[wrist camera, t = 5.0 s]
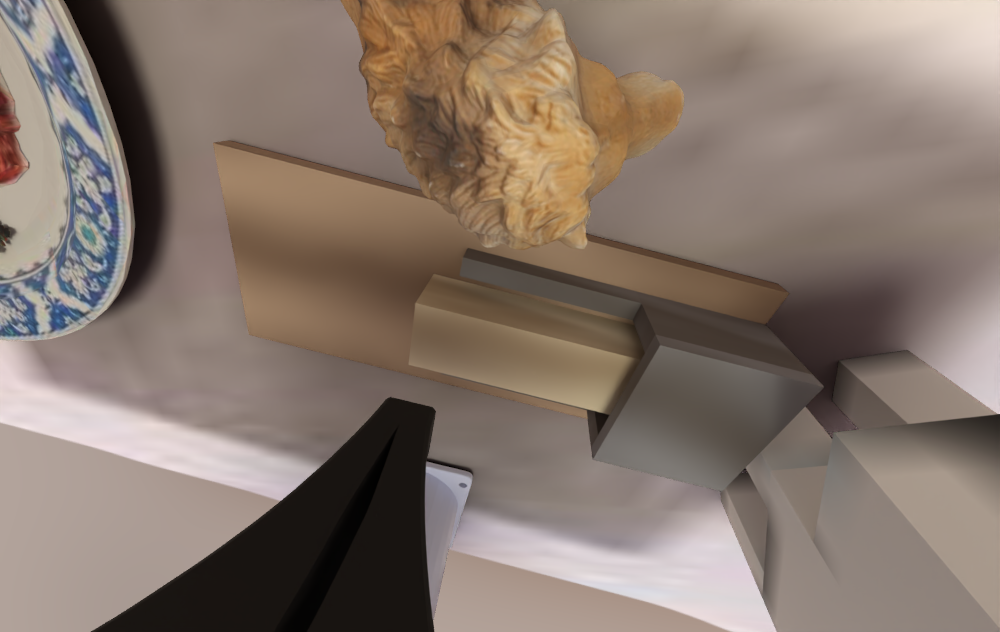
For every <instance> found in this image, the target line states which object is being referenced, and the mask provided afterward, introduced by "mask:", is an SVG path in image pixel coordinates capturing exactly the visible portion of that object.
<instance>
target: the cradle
mask: <svg viewBox="0 0 1000 632" xmlns="http://www.w3.org/2000/svg"><path fill="white" fill-rule="evenodd" d="M213 146H214V151H215V156H216V161H217V167H218V172H219V177H220V183H221V188H222V193H223V199H224V204H225V209H226V215H227V220H228V225H229V231H230V236H231V241H232V247H233V252H234V257H235V263H236V268H237V273H238V279H239V284H240V289H241V295H242V300H243V305H244V311H245V316H246V321H247V327H248V332H249V335H252V336H256V337H260V338H264V339H268V340H272V341H276V342H280V343H284V344H288V345H292V346H296V347H300V348H305V349H309V350H313V351H317V352H321V353H325V354H329V355H333V356H337V357H341V358H345V359H349V360H353V361H357V362H361V363H365V364H369V365H373V366H377V367H381V368H385V369H389V370H393V371H397V372H401V373H405V374H409V375H413V376H417V377H421V378H425V379H429V380H433V381H437V382H441V383H445V384H449V385H453V386H457V387H461V388H465V389H469V390H473V391H477V392H481V393H485V394H489V395H493V396H497V397H501V398H505V399H509V400H513V401H517V402H521V403H526V404H530V405H534V406H538V407H542V408H546V409H550V410H554V411H558V412H562V413H566V414H570V415H574V416H578V417H582V418H586V419H588V426H589V434H590V442H591V450H592V458H593V460H596V461H600V462H604V463H608V464H612V465H616V466H620V467H624V468H628V469H632V470H636V471H641V472H645V473H649V474H653V475H657V476H661V477H665V478H669V479H673V480H677V481H681V482H685V483H689V484H693V485H697V486H701V487H706V488H710V489H714V490H718V491H723V490H724V489H725V488H726V487H727V486H728V485H729V484H730V483H731V482H732V481H733V480H734V479H735V478H736V477H737V476H738V475H739V474H740V473H741V472H742V471H743V470H744V469H745V468H746V467H747V466H748V465H749V464H750V463H751V461H752V460H753V459H754V458H755V457H756V456H757V455H758V454H759V453H760V452H761V451H762V450H763V449H764V448H765V447H766V446H767V445H768V444H769V443H770V442H771V441H772V440H773V439H774V438H775V437H776V436H777V435H778V434H779V433H780V432H781V431H782V430H783V429H784V428H785V427H786V426H787V425H788V424H789V423H790V422H791V421H792V420H793V419H794V418H795V417H796V416H797V415H798V414H799V413H800V412H801V410H802V409H803V408H804V407H805V406H806V405H807V404H808V403H809V402H810V401H811V400H812V399H813V398H814V397H815V396H816V395H817V394H818V393H819V392H820V391H821V390H822V389H823V388H824V386H823V385H822V384H821V383H820V382H819V381H818V380H817V379H816V378H815V377H814V375H813V374H812V373H811V372H810V371H809V370H808V369H807V368H806V367H805V366H804V365H803V364H802V363H801V362H800V361H799V360H798V359H797V357H796V356H795V355H794V354H793V353H792V352H791V351H790V350H789V349H788V348H787V347H786V346H785V345H784V344H783V343H782V342H781V341H780V339H779V338H778V337H777V336H776V335H775V334H774V333H773V332H772V331H771V330H770V329H769V328H768V327H767V326H766V323H767V322H768V321H769V320H770V318H771V317H772V316H773V314H774V313H775V312H776V310H777V309H778V308H779V306H780V305H781V304H782V302H783V301H784V300H785V299H786V297H787V296H788V295H789V293H788V292H787V291H786V290H785V289H783V288H782V287H781V286H780V285H779V284H776V283H772V282H768V281H764V280H760V279H756V278H753V277H749V276H745V275H741V274H737V273H734V272H730V271H726V270H722V269H718V268H714V267H711V266H707V265H703V264H699V263H695V262H691V261H688V260H684V259H680V258H676V257H672V256H669V255H665V254H661V253H657V252H653V251H649V250H646V249H642V248H638V247H634V246H630V245H626V244H623V243H619V242H615V241H611V240H607V239H604V238H600V237H596V236H592V235H588V234H586V237H587V245H586V247H585V248H584V249H572V248H570V247H568V246H566V245H565V244H563V243H562V242H561V241H558V240H556V241H554V242H551V243H549V244H546V245H543V246H542V247H539V248H535V247H531V248H528V249H525V250H517V249H512V248H510V247H508V246H507V245H505V244H499V245H498V246H496V247H488V248H487V247H484V246H483V245H482V244H481V243H480V240H479V238H478V237H477V236H476V235H475V234H473V233H471V232H469V231H466V230H465V229H464V228H463V227H462V226H461V225H460V224H459V223H458V218H457V217H456V215H455V214H450V213H448V212H446V211H445V210H444V209H443V208H442V206H441V205H440V204H439V203H437V202H436V200H434V199H429V198H427V197H426V196H425V195H424V194H423V193H422V191H420V190H416V189H412V188H409V187H405V186H401V185H397V184H393V183H390V182H386V181H382V180H378V179H374V178H370V177H367V176H363V175H359V174H355V173H351V172H347V171H344V170H340V169H336V168H332V167H328V166H325V165H321V164H317V163H313V162H309V161H305V160H302V159H298V158H294V157H290V156H286V155H282V154H279V153H275V152H271V151H267V150H263V149H260V148H256V147H252V146H248V145H244V144H240V143H237V142H233V141H223V142H216V143H213ZM434 274H436V275H440V276H444V277H448V278H452V279H456V280H460V281H464V282H468V283H472V284H475V285H479V286H483V287H487V288H491V289H495V290H499V291H503V292H507V293H511V294H515V295H519V296H523V297H526V298H530V299H534V300H538V301H542V302H546V303H550V304H554V305H558V306H562V307H566V308H570V309H573V310H577V311H581V312H585V313H589V314H593V315H597V316H601V317H605V318H609V319H613V320H617V321H621V322H624V323H628V324H632V325H635V328H636V330H637V333H638V336H639V338H640V341H641V344H642V346H643V349H644V352H645V354H644V356H643V357H642V359H641V361H640V363H639V364H638V366H637V368H636V370H635V371H634V373H633V375H632V377H631V378H630V380H629V382H628V384H627V385H626V387H625V389H624V391H623V392H622V394H621V396H620V398H619V399H618V401H617V403H616V405H615V407H614V408H613V410H612V412H611V414H610V415H609V414H605V413H601V412H597V411H593V410H589V409H585V408H581V407H577V406H573V405H568V404H564V403H560V402H556V401H552V400H548V399H544V398H540V397H536V396H532V395H528V394H524V393H520V392H516V391H512V390H508V389H504V388H500V387H496V386H492V385H488V384H484V383H480V382H476V381H472V380H468V379H464V378H460V377H456V376H452V375H448V374H444V373H440V372H436V371H432V370H428V369H424V368H420V367H416V366H412V365H408V364H409V356H410V347H411V338H412V329H413V321H414V312H415V303H416V301H417V300H418V298H419V297H420V295H421V294H422V292H423V290H424V289H425V287H426V286H427V284H428V282H429V281H430V279H431V278H432V276H433V275H434Z"/></svg>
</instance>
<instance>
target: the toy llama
mask: <svg viewBox="0 0 1000 632" xmlns="http://www.w3.org/2000/svg"><path fill="white" fill-rule="evenodd" d="M832 401H833V402H834V403H835V404H836V405H837V406H838V408H839V409H840V410H841V411H842V412H843V413H844V414H845V415H846V416H847V417H848V418H849V419H850V420H851V422H852V423H853V424H854V425H855V426H856V427H857V428H858V429H859V430H850V431H840V432H834V433H833V438H831V437H830V436H829V434H828V433H827V432H826V431H825V430H824V428H823V427H822V426H821V425H820V424H819V422H818V421H817V420H816V419H815V418H814V416H813V415H812V414H811V413H810V411H809V410H808V409H807V408H806V407H804V408H803V409H802V410H801V412H800V413H799V414H798V415H797V416H796V417H795V418H794V419H793V420H792V421H791V422H790V423H789V424H788V425H787V426H786V427H785V428H784V429H783V430H782V431H781V432H780V433H779V434H778V435H777V436H776V437H775V438H774V439H773V440H772V441H771V442H770V443H769V444H768V445H767V446H766V447H765V448H764V449H763V450H762V451H761V452H760V453H759V454H758V455H757V456H756V457H755V458H754V459H753V460H752V461H751V463H750V464H749V465H748V466H747V467H746V469H747V471H748V473H743V474H739V475H738V476H737V477H736V478H735V479H734V480H733V481H732V482H731V483H730V484H729V485H728V486H727V487H726V488H725V489H724V490H723V491H721V502H722V504H723V507H724V509H725V511H726V514H727V516H728V518H729V521H730V523H731V525H732V528H733V530H734V532H735V535H736V537H737V539H738V542H739V544H740V546H741V549H742V551H743V553H744V556H745V558H746V560H747V563H748V565H749V567H750V570H751V572H752V574H753V577H754V579H755V582H756V584H757V586H758V589H759V591H760V593H761V596H762V598H763V600H764V603H765V605H766V607H767V610H768V612H769V614H770V617H771V619H772V621H773V624H774V626H775V628H776V631H777V632H1000V414H997V413H995V412H994V411H992V410H991V409H990V408H988V407H987V406H985V405H984V404H983V403H981V402H980V401H978V400H977V399H976V398H974V397H973V396H971V395H970V394H969V393H967V392H966V391H964V390H963V389H962V388H960V387H959V386H957V385H956V384H955V383H953V382H952V381H950V380H949V379H947V378H946V377H945V376H943V375H942V374H940V373H939V372H938V371H936V370H935V369H933V368H932V367H931V366H929V365H928V364H926V363H925V362H924V361H922V360H921V359H919V358H918V357H917V356H915V355H914V354H912V353H911V352H910V351H908V350H906V351H899V352H892V353H886V354H879V355H873V356H866V357H859V358H853V359H846V360H839V363H838V369H837V375H836V381H835V387H834V393H833V399H832Z"/></svg>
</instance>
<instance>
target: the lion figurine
mask: <svg viewBox="0 0 1000 632" xmlns="http://www.w3.org/2000/svg"><path fill="white" fill-rule="evenodd" d="M341 2H342V4H343V6H344V8H345V9H346V11H347V13H348V14H349V16H350V17H351V19H352V21H353V22H354V24H355V25H356V27H357V30H358V33H359V37H360V40H361V44H362V48H363V52H364V54H363V56H362V58H361V60H360V62H359V71H360V72H361V74H362V75H363V77H364V78H365V80H366V83H367V93H368V103H369V107H370V111H371V114H372V116H373V118H374V119H375V120H376V121H377V122H378V123H379V125H380V126H381V127H382V128H383V129H384V131H385V132H386V138H385V142H386V144H387V145H388V147H391V148H395V149H398V150H399V152H400V153H401V155H402V158H403V161H404V163H405V164H406V168H407V170H408V172H409V173H411V174H413V175H415V176H416V177H417V179H418V181H419V184H420V187H421V190H422V193H423V194H424V195H425V196H426V197H427V198H429V199H434V200H436V202H437V203H439V204H440V205H441V206H442V208H443V209H444V210H445V211H446V212H448V213H450V214H455V215H456V217H457V218H458V223H459V224H460V225H461V226H462V227H463V228H464V229H465V230H466V231H469V232H471V233H473V234H475V235H476V236H477V237H478V238H479V240H480V243H481V244H482V245H483V246H484V247H487V248H488V247H496V246H498V245H499V244H505V245H507V246H508V247H510V248H512V249H517V250H525V249H528V248H531V247H535V248H539V247H542V246H543V245H546V244H549V243H551V242H554V241H556V240H558V241H561V242H562V243H563V244H565V245H566V246H568V247H570V248H572V249H584V248H585V247H586V245H587V237H586V224H587V221H588V219H589V217H590V214H591V208H590V200H591V199H592V198H593V197H594V196H595V195H596V194H597V193H599V192H600V191H601V190H602V189H604V188H605V187H606V186H608V185H609V184H610V183H611V182H612V181H613V180H615V178H616V177H617V176H618V175H619V173H620V171H621V168H622V165H623V162H624V161H625V160H626V159H630V158H635V157H638V156H641V155H643V154H645V153H647V152H649V151H650V150H652V149H653V148H654V147H656V146H657V145H658V144H659V143H660V142H661V141H662V140H663V139H664V137H666V136H667V135H668V134H669V133H671V132H672V131H673V130H674V129H675V127H676V126H677V124H678V122H679V119H680V117H681V114H682V110H683V105H684V95H683V92H682V90H681V88H680V87H679V86H678V85H677V84H676V83H675V82H674V81H673V80H662V79H660V78H659V77H658V76H656V75H654V74H651V73H648V72H642V71H640V72H634V73H630V74H627V75H624V76H621V77H619V78H615V76H614V74H613V73H612V72H611V71H610V70H609V69H608V68H606V67H605V66H604V65H602V64H601V63H597V62H593V61H590V60H587V59H585V58H583V57H582V56H581V55H580V54H579V52H578V50H577V48H576V46H575V44H574V43H573V41H572V40H571V39H570V37H569V36H568V34H567V30H566V25H565V22H564V19H563V17H562V15H561V14H560V13H557V11H556V10H555V8H553V9H551V8H550V9H549V10H548V11H544V10H543V9H542V8H541V7H540V5H539V4H538V3H537V1H536V0H341Z"/></svg>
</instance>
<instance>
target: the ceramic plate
mask: <svg viewBox="0 0 1000 632" xmlns="http://www.w3.org/2000/svg"><path fill="white" fill-rule="evenodd" d="M134 231H135V218H134V209H133V200H132V191H131V183H130V177H129V172H128V168H127V163H126V159H125V155H124V150H123V146H122V142H121V139H120V136H119V133H118V130H117V126H116V123H115V120H114V117H113V114H112V110H111V107H110V104H109V102H108V99H107V96H106V94H105V91H104V88H103V86H102V83H101V80H100V78H99V75H98V72H97V70H96V67H95V65H94V62H93V60H92V58H91V56H90V54H89V52H88V50H87V48H86V45H85V43H84V41H83V39H82V37H81V35H80V33H79V30H78V28H77V26H76V24H75V22H74V20H73V18H72V16H71V13H70V11H69V9H68V7H67V5H66V4H65V2H64V0H0V340H6V341H34V340H43V339H51V338H55V337H59V336H63V335H67V334H69V333H72V332H74V331H77V330H79V329H81V328H83V327H85V326H86V325H88V324H90V323H91V322H93V321H94V320H95V319H96V318H97V317H98V316H100V315H101V314H102V313H103V312H104V311H106V310H107V309H108V308H109V307H110V306H111V304H112V303H113V302H114V300H115V299H116V297H117V296H118V295H119V293H120V291H121V289H122V287H123V285H124V282H125V280H126V278H127V275H128V271H129V268H130V264H131V260H132V253H133V242H134Z"/></svg>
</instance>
